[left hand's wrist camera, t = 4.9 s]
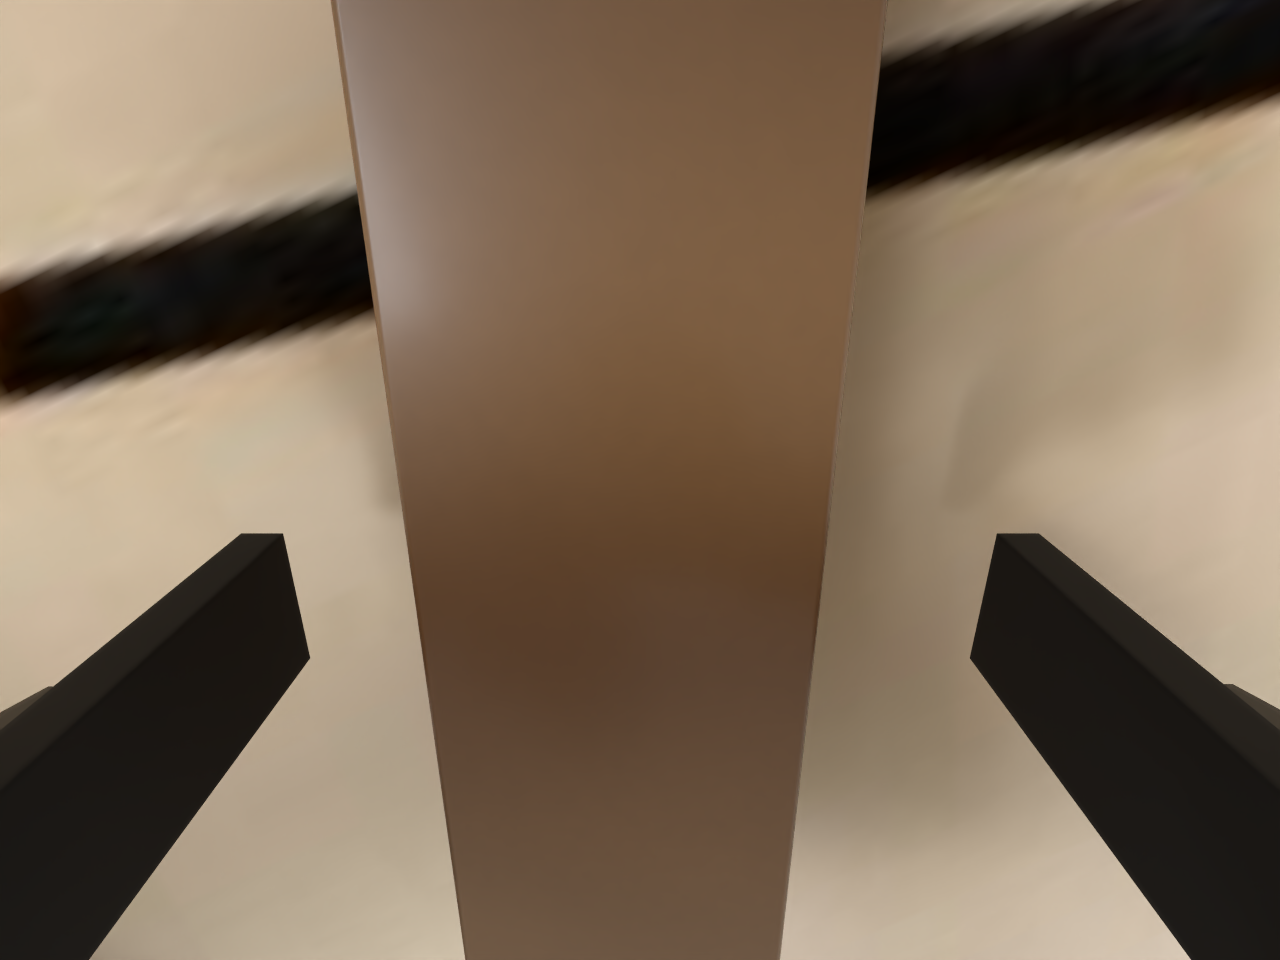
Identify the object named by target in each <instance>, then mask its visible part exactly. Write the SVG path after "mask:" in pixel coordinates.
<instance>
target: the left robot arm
mask: <svg viewBox="0 0 1280 960" xmlns="http://www.w3.org/2000/svg"><path fill="white" fill-rule="evenodd" d="M309 659H310V655H309V651H308V646H307V642H306V637H305V632H304V628H303V623H302V619H301V614H300V609H299V605H298V600H297V596H296V591H295V586H294V582H293V577H292V573H291V568H290V563H289V559H288V554H287V550H286V545H285V541H284V536H283V534H240V535H239V536H238V537H236V538H235V539H234V540H233V541H232V542H230V543H229V544H228V545H227V546H225V547H224V548H223V549H222V550H221V551H219V552H218V553H217V554H216V555H214V556H213V557H212V558H211V559H209V560H208V561H207V562H206V563H205V564H203V565H202V566H201V567H200V568H198V569H197V570H196V571H195V572H194V573H192V574H191V575H190V576H189V577H187V578H186V579H185V580H184V581H182V582H181V583H180V584H179V585H178V586H176V587H175V588H174V589H173V590H171V591H170V592H169V593H168V594H167V595H165V596H164V597H163V598H162V599H160V600H159V601H158V602H157V603H155V604H154V605H153V606H152V607H151V608H149V609H148V610H147V611H146V612H144V613H143V614H142V615H141V616H140V617H138V618H137V619H136V620H135V621H133V622H132V623H131V624H130V625H128V626H127V627H126V628H125V629H124V630H122V631H121V632H120V633H119V634H117V635H116V636H115V637H114V638H113V639H111V640H110V641H109V642H108V643H106V644H105V645H104V646H103V647H101V648H100V649H99V650H98V651H97V652H95V653H94V654H93V655H92V656H90V657H89V658H88V659H87V660H86V661H84V662H83V663H82V664H81V665H79V666H78V667H77V668H76V669H75V670H73V671H72V672H71V673H70V674H68V675H67V676H66V677H65V678H63V679H62V680H61V681H60V682H59V683H57V684H56V685H55V686H54V687H47V688H45V689H43V690H41V691H39V692H37V693H36V694H34V695H32V696H30V697H28V698H26V699H24V700H23V701H21V702H19V703H17V704H15V705H13V706H12V707H10V708H8V709H6V710H4V711H2V712H1V713H0V960H89V959H90V957H91V956H92V955H93V953H94V952H95V951H96V949H97V948H98V947H99V945H100V944H101V942H102V941H103V940H104V938H105V937H106V936H107V934H108V933H109V932H110V930H111V929H112V927H113V926H114V925H115V923H116V922H117V921H118V919H119V918H120V917H121V915H122V914H123V912H124V911H125V910H126V908H127V907H128V906H129V904H130V903H131V902H132V900H133V899H134V897H135V896H136V895H137V893H138V892H139V891H140V889H141V888H142V887H143V885H144V884H145V882H146V881H147V880H148V878H149V877H150V876H151V874H152V873H153V872H154V870H155V869H156V867H157V866H158V865H159V863H160V862H161V861H162V859H163V858H164V857H165V855H166V854H167V852H168V851H169V850H170V848H171V847H172V846H173V844H174V843H175V842H176V840H177V839H178V838H179V836H180V835H181V833H182V832H183V831H184V829H185V828H186V827H187V825H188V824H189V823H190V821H191V820H192V818H193V817H194V816H195V814H196V813H197V812H198V810H199V809H200V808H201V806H202V805H203V803H204V802H205V801H206V799H207V798H208V797H209V795H210V794H211V793H212V791H213V790H214V788H215V787H216V786H217V784H218V783H219V782H220V780H221V779H222V778H223V776H224V775H225V773H226V772H227V771H228V769H229V768H230V767H231V765H232V764H233V763H234V761H235V760H236V758H237V757H238V756H239V754H240V753H241V752H242V750H243V749H244V748H245V746H246V745H247V743H248V742H249V741H250V739H251V738H252V737H253V735H254V734H255V733H256V731H257V730H258V728H259V727H260V726H261V724H262V723H263V722H264V720H265V719H266V718H267V716H268V715H269V713H270V712H271V711H272V709H273V708H274V707H275V705H276V704H277V703H278V701H279V700H280V699H281V697H282V696H283V694H284V693H285V692H286V690H287V689H288V688H289V686H290V685H291V684H292V682H293V681H294V679H295V678H296V677H297V675H298V674H299V673H300V671H301V670H302V669H303V667H304V666H305V664H306V663H307V662H308V660H309ZM970 659H971V660H972V662H973V663H974V664H975V666H976V667H977V669H978V670H979V671H980V673H981V674H982V675H983V677H984V678H985V679H986V681H987V682H988V684H989V685H990V686H991V688H992V689H993V690H994V692H995V693H996V694H997V696H998V697H999V699H1000V700H1001V701H1002V703H1003V704H1004V705H1005V707H1006V708H1007V709H1008V711H1009V712H1010V713H1011V715H1012V716H1013V718H1014V719H1015V720H1016V722H1017V723H1018V724H1019V726H1020V727H1021V728H1022V730H1023V731H1024V733H1025V734H1026V735H1027V737H1028V738H1029V739H1030V741H1031V742H1032V743H1033V745H1034V746H1035V748H1036V749H1037V750H1038V752H1039V753H1040V754H1041V756H1042V757H1043V758H1044V760H1045V761H1046V763H1047V764H1048V765H1049V767H1050V768H1051V769H1052V771H1053V772H1054V773H1055V775H1056V776H1057V778H1058V779H1059V780H1060V782H1061V783H1062V784H1063V786H1064V787H1065V788H1066V790H1067V791H1068V793H1069V794H1070V795H1071V797H1072V798H1073V799H1074V801H1075V802H1076V803H1077V805H1078V806H1079V808H1080V809H1081V810H1082V812H1083V813H1084V814H1085V816H1086V817H1087V818H1088V820H1089V821H1090V823H1091V824H1092V825H1093V827H1094V828H1095V829H1096V831H1097V832H1098V833H1099V835H1100V836H1101V838H1102V839H1103V840H1104V842H1105V843H1106V844H1107V846H1108V847H1109V848H1110V850H1111V851H1112V852H1113V854H1114V855H1115V857H1116V858H1117V859H1118V861H1119V862H1120V863H1121V865H1122V866H1123V867H1124V869H1125V870H1126V872H1127V873H1128V874H1129V876H1130V877H1131V878H1132V880H1133V881H1134V882H1135V884H1136V885H1137V887H1138V888H1139V889H1140V891H1141V892H1142V893H1143V895H1144V896H1145V897H1146V899H1147V900H1148V902H1149V903H1150V904H1151V906H1152V907H1153V908H1154V910H1155V911H1156V912H1157V914H1158V915H1159V917H1160V918H1161V919H1162V921H1163V922H1164V923H1165V925H1166V926H1167V927H1168V929H1169V930H1170V932H1171V933H1172V934H1173V936H1174V937H1175V938H1176V940H1177V941H1178V942H1179V944H1180V945H1181V947H1182V948H1183V949H1184V951H1185V952H1186V953H1187V955H1188V956H1189V957H1190V959H1191V960H1280V710H1279V709H1278V708H1276V707H1274V706H1272V705H1270V704H1268V703H1267V702H1265V701H1263V700H1261V699H1259V698H1257V697H1255V696H1254V695H1252V694H1250V693H1248V692H1246V691H1244V690H1242V689H1241V688H1239V687H1237V686H1235V685H1233V684H1223V683H1221V682H1220V681H1219V680H1218V679H1217V678H1215V677H1214V676H1213V675H1212V674H1210V673H1209V672H1208V671H1207V670H1205V669H1204V668H1203V667H1202V666H1201V665H1199V664H1198V663H1197V662H1196V661H1194V660H1193V659H1192V658H1191V657H1190V656H1188V655H1187V654H1186V653H1185V652H1183V651H1182V650H1181V649H1180V648H1179V647H1177V646H1176V645H1175V644H1174V643H1172V642H1171V641H1170V640H1169V639H1167V638H1166V637H1165V636H1164V635H1163V634H1161V633H1160V632H1159V631H1158V630H1156V629H1155V628H1154V627H1153V626H1152V625H1150V624H1149V623H1148V622H1147V621H1145V620H1144V619H1143V618H1142V617H1140V616H1139V615H1138V614H1137V613H1136V612H1134V611H1133V610H1132V609H1131V608H1129V607H1128V606H1127V605H1126V604H1125V603H1123V602H1122V601H1121V600H1120V599H1118V598H1117V597H1116V596H1115V595H1113V594H1112V593H1111V592H1110V591H1109V590H1107V589H1106V588H1105V587H1104V586H1102V585H1101V584H1100V583H1099V582H1098V581H1096V580H1095V579H1094V578H1093V577H1091V576H1090V575H1089V574H1088V573H1086V572H1085V571H1084V570H1083V569H1082V568H1080V567H1079V566H1078V565H1077V564H1075V563H1074V562H1073V561H1072V560H1071V559H1069V558H1068V557H1067V556H1066V555H1064V554H1063V553H1062V552H1061V551H1059V550H1058V549H1057V548H1056V547H1055V546H1053V545H1052V544H1051V543H1050V542H1048V541H1047V540H1046V539H1045V538H1044V537H1042V536H1041V535H1040V534H997V536H996V541H995V545H994V550H993V554H992V559H991V563H990V568H989V573H988V577H987V582H986V586H985V591H984V596H983V600H982V605H981V609H980V614H979V619H978V623H977V628H976V632H975V637H974V642H973V646H972V651H971V655H970Z"/></svg>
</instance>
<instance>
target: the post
mask: <svg viewBox="0 0 1280 960" xmlns="http://www.w3.org/2000/svg"><path fill="white" fill-rule="evenodd" d="M887 2H888V0H331V6H332V13H333V20H334V27H335V34H336V42H337V49H338V56H339V63H340V70H341V77H342V84H343V91H344V98H345V106H346V113H347V120H348V127H349V134H350V141H351V148H352V155H353V163H354V170H355V177H356V184H357V191H358V198H359V205H360V212H361V220H362V227H363V234H364V241H365V248H366V255H367V262H368V269H369V277H370V284H371V291H372V298H373V305H374V312H375V319H376V326H377V333H378V341H379V348H380V355H381V362H382V369H383V376H384V383H385V390H386V398H387V405H388V412H389V419H390V426H391V433H392V440H393V447H394V455H395V462H396V469H397V476H398V483H399V490H400V497H401V504H402V511H403V519H404V526H405V533H406V540H407V547H408V554H409V561H410V568H411V576H412V583H413V590H414V597H415V604H416V611H417V618H418V625H419V633H420V640H421V647H422V654H423V661H424V668H425V675H426V682H427V689H428V697H429V704H430V711H431V718H432V725H433V732H434V739H435V746H436V754H437V761H438V768H439V775H440V782H441V789H442V796H443V803H444V811H445V818H446V825H447V832H448V839H449V846H450V853H451V860H452V868H453V875H454V882H455V889H456V896H457V903H458V910H459V917H460V924H461V932H462V939H463V946H464V953H465V960H780V954H781V945H782V936H783V927H784V918H785V909H786V901H787V892H788V883H789V874H790V865H791V856H792V847H793V838H794V829H795V820H796V812H797V803H798V794H799V785H800V776H801V767H802V758H803V749H804V740H805V731H806V722H807V714H808V705H809V696H810V687H811V678H812V669H813V660H814V651H815V642H816V633H817V625H818V616H819V607H820V598H821V589H822V580H823V571H824V562H825V553H826V544H827V536H828V527H829V518H830V509H831V500H832V491H833V482H834V473H835V464H836V455H837V447H838V438H839V429H840V420H841V411H842V402H843V393H844V384H845V375H846V366H847V358H848V349H849V340H850V331H851V322H852V313H853V304H854V295H855V286H856V277H857V269H858V260H859V251H860V242H861V233H862V224H863V215H864V206H865V197H866V188H867V180H868V171H869V162H870V153H871V144H872V135H873V126H874V117H875V108H876V99H877V91H878V82H879V73H880V64H881V55H882V46H883V37H884V28H885V19H886V10H887Z"/></svg>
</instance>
